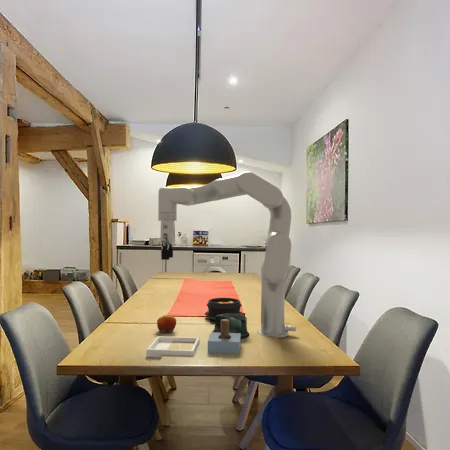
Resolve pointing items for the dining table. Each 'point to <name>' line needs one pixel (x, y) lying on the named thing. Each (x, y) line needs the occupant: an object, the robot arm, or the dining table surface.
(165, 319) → the fruit
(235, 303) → the casserole
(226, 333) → the pin
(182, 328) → the dining table surface
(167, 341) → the tray
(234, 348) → the holder
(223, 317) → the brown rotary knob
